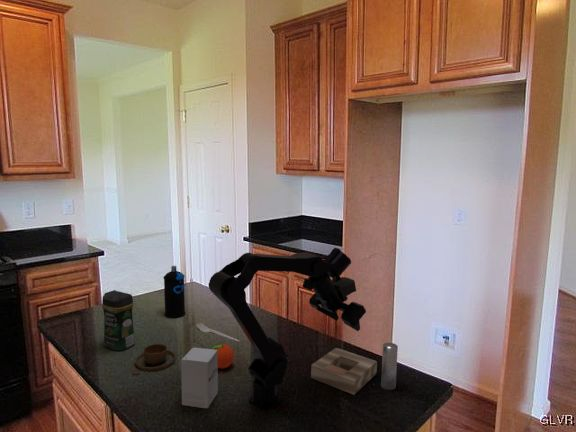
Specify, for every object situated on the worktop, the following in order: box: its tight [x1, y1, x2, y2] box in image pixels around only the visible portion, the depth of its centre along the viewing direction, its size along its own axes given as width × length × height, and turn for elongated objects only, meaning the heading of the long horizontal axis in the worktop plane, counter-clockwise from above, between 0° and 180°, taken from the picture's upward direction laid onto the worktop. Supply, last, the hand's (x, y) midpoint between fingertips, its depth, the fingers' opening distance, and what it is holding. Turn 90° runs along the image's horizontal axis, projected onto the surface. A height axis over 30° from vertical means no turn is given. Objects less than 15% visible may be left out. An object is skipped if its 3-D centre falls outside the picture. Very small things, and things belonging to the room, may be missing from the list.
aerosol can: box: [162, 265, 186, 319], centre depth 165 cm, size 8×8×20 cm
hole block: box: [310, 347, 378, 396], centre depth 121 cm, size 14×14×4 cm
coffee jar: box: [101, 289, 136, 352], centre depth 138 cm, size 10×8×19 cm
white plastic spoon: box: [196, 322, 240, 342], centre depth 149 cm, size 3×20×2 cm, turn 56°
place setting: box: [128, 343, 177, 376], centre depth 126 cm, size 18×20×6 cm
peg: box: [380, 342, 399, 391], centre depth 116 cm, size 4×4×12 cm
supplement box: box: [180, 347, 219, 409], centre depth 108 cm, size 7×7×13 cm
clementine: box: [210, 343, 235, 369], centre depth 125 cm, size 8×7×7 cm
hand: (347, 324), depth 123 cm, fingers open, 9 cm apart
